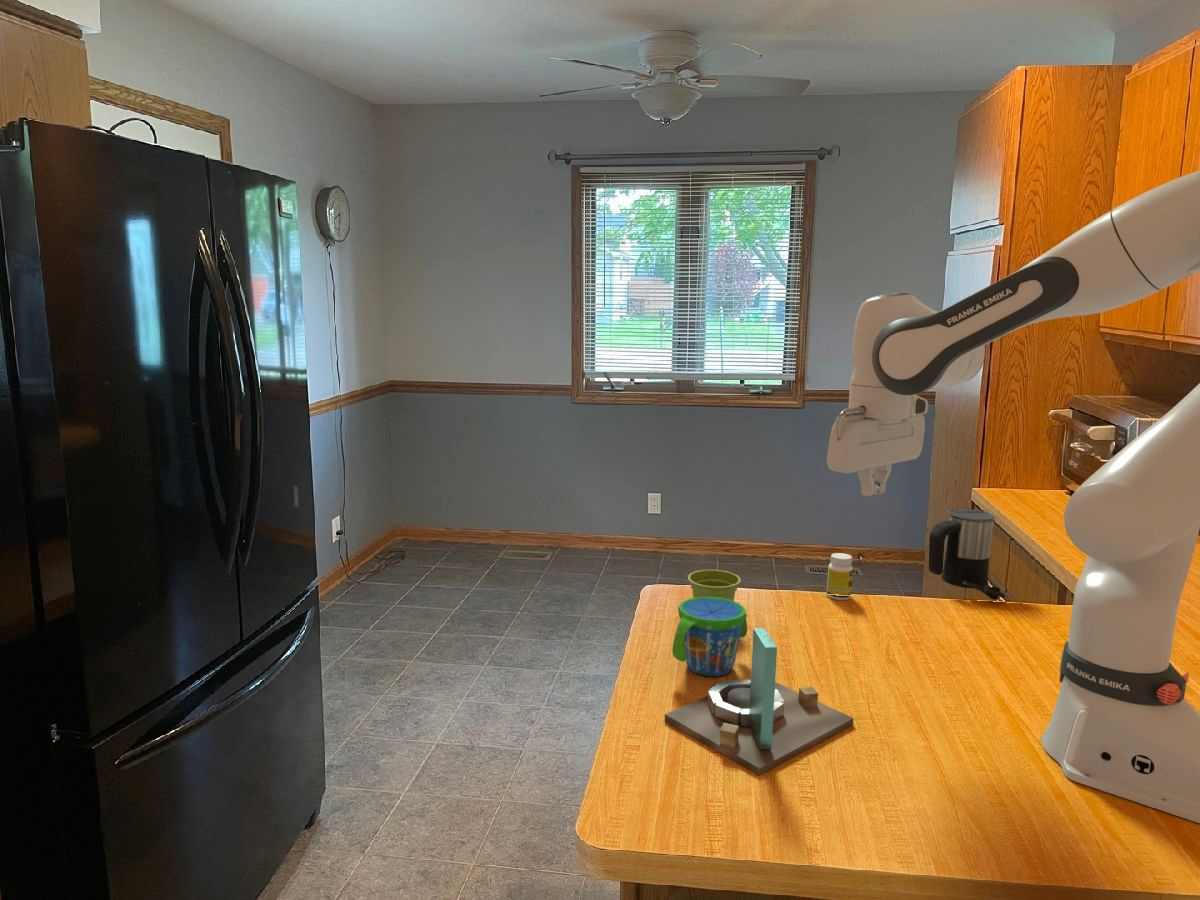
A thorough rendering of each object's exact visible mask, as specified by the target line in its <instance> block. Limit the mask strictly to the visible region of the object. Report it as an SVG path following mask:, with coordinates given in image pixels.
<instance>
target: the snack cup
mask: <svg viewBox="0 0 1200 900" xmlns="http://www.w3.org/2000/svg"><path fill="white" fill-rule="evenodd" d="M677 611H678V616H679V619H680V621H679V622H678V625H677V627H676V630H675V634H674V637H673V638H674V639H673V643H672V648H671V649H672V650H671V651H672V655H673V657H674V659H676V660H677V661H680V662H685V663H686V665H687V667H688V668H689V669H690V670H691V671H692V672H693V673H694V674H698V675H702V676H708V677H721V676H723V675H727V674H728V673H730V672H731V671H733V670H734V665H735V662H736V657H737V653H738V649H739V644H740V639H741V638H745V637H746V636H747V635H748V634H747V633H748V623H747V621H748V620H747V617H748V615H747V614H748V613H747V611H746V608H745V607H744V606H743V605H742V604H740V603H738V602H737V601H735V600H734V601H732V600H728V599H724V598H718V597H695V598H693V597H691V598H687V599H685V600H683V601H682V602H681V603H680V604H679V605H678V608H677Z"/></svg>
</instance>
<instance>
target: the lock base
mask: <svg viewBox="0 0 1200 900" xmlns="http://www.w3.org/2000/svg"><path fill="white" fill-rule="evenodd" d="M745 680H750V681H751V677H749V678H747V679H745ZM775 689H777V690H778V692H779V693H780V695H781V697H782V698H783V700H784V713H783V715H782V716H780V717H779V718H778V719H776V720H775V721H774V722H773V730H772V748H771V749H760V748H759V746H758V744H757V742H756V740H755V738H754V736H753V734H752V731H751V729H750V727H749V725H746V726H741V724H740V723H739V724H738V725H736V724H734V723H731V722H729V721H726V720H724V719H721V718H719V717H716V716H715V714H713V713H712V710H711V708H710V705H709V703H708V695H706V696H703V697H702V698H700V699H698V700H695V701H692V702H691V703H688V704H685V705H683V706H681V707H678V708H676V709H674V710H671V711H669V712H666V713H664V722H666V723H668V724H670V725H671V726H673V727H675V728H676V729H678V730H680V731H682V732H683V733H685V734H687V735H688V736H690V737H692V738H694V739H695V740H696V741H699V742H701V743H702V744H704V745H706V746H708V747H709V748H711V749H713V750H714V751H716V752H718V753H720V754H721V755H723V756H725V757H727V758H729V759H730V760H732V761H733V762H735V763H737V764H739V765H740V766H742V767H743V768H745V769H747V770H749V771H750V772H752V773H754V774H756V775H757V776H762V775H763V774H766V772H769V771H770V770H772V769H775V768H776V767H778V766H780V765H782V764H783V763H785V762H787V761H788V760H791V759H792V758H794V757H795V756H798V755H800V754H802V753H804V752H805V751H807V750H809V749H811V748H813V747H815V746H816V745H819V744H820V743H822V742H824V741H825V740H827V739H830V738H831V737H833V736H835V735H836V734H839V733H840V732H842V731H845V730H846V729H848V728H850V727H851V726H853V725H854V717H852V716H850V715H848V714H846V713H843V712H842V711H839V710H837V709H835V708H832V707H830V706H828V705H826V704H824V703H822V702H819V692H817V690H816V689H815V688H813V686H806V687H798V692H797V691H795V690H793V689H792V688H790V687H787V686H785V685H783V684H780V683H779V682H776V681H775ZM722 701H723V702H725V703H728V704H730V705H733V706H735V707H738V708H740V709H750V688H736V689H733V690H731V691H730V692H729V693H728V697H726V698H724V699H723V700H722Z"/></svg>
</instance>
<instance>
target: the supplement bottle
mask: <svg viewBox="0 0 1200 900" xmlns="http://www.w3.org/2000/svg"><path fill="white" fill-rule="evenodd" d="M852 563H853V556H852V555H851V554H849V553H848V554H847V553H843V552H834V553H832V554H831V555H830V563H829V564H828V569H827V581H826V583H827V584H826V596H827V597H828V598H829V599H831V600H837V601H847V600H850V599H851V598H852V589H853V588H852V587H853V575H854V568H853V566H852ZM827 594H839V595H851V596H836V595H827Z"/></svg>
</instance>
